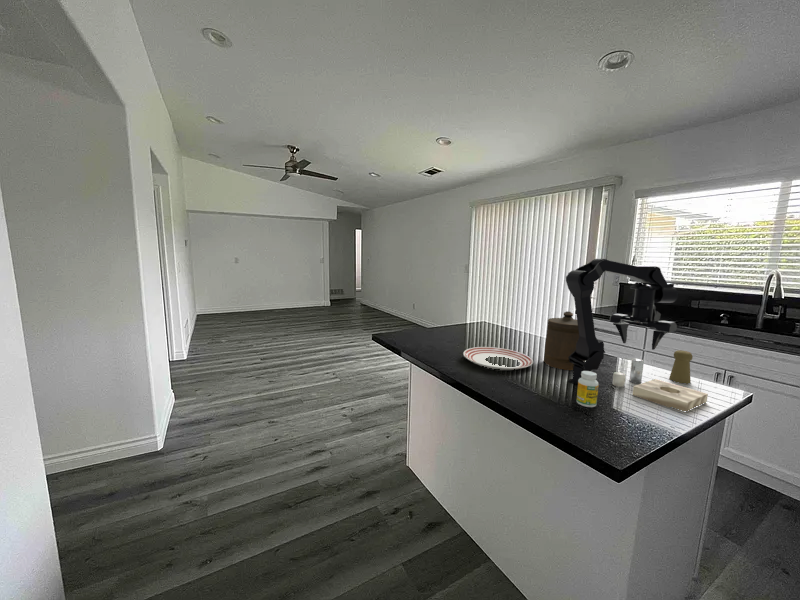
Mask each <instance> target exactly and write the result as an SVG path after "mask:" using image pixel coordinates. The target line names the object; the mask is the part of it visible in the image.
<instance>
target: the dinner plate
mask: <svg viewBox="0 0 800 600" xmlns="http://www.w3.org/2000/svg"><path fill="white" fill-rule="evenodd" d="M462 354H463V357H464V358H465V359H467V360H468V361H470V362H471V363H473V364H475V365H478V366H480V367H482V366H484V367H483V368H485V367H487V368H486V369H489V368H492V369H491V370H494V369H500V370H499V371H513V370H514V369H515V370H519V369H525V368H528V367H530V366H532V365H533V364H534V360H533V358H532V357H530V356H528V355H527V354H525V353H523V352H520V351H517V350H512V349H509V348H502V347H495V346H476V347H470V348H467V349H465V350H464V351H463V353H462ZM489 356H490V357H496V356H497V357H505V358H509V359H513V360H518V362H520V363H521V364H520V365H519V366H516V367H507V366H506V367H505V365H502V366H499V365H498V364H495V365H494V364H493V365H492V363H489V362H488V361H486V360H485V359H486V358H488V357H489ZM515 370H514V371H515Z"/></svg>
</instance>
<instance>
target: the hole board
mask: <svg viewBox="0 0 800 600" xmlns="http://www.w3.org/2000/svg"><path fill="white" fill-rule="evenodd" d="M632 396H634V397H638V398H640V399H643V400H646V401H648V402H649V401H650V402H653V403H655V404H659V405H661V406H664V407H667V408H670V407H673V408H676V409H679V410H682V411H688V410H690V409H692V408H694V407H696V406H699V405H701V404H703V403H706V402H707V401H708V396H709V393H706V392H704V391H703V392H702V391H699V390H696V389H693V388H689V387H685V386H682V385H677V384H674V383H671V382H667V381H664V380H660V379H658V378H655V379H651V380H649V381H648V380H647V381H645V382H641V383H640V384H638V383H637V384H635V385H633V388H632ZM706 404H707V403H706ZM699 407H700V406H699ZM673 408H672V409H673ZM676 409H675V410H676ZM679 410H678V411H679ZM682 411H681V412H682Z"/></svg>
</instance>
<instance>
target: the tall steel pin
mask: <svg viewBox="0 0 800 600" xmlns="http://www.w3.org/2000/svg"><path fill="white" fill-rule="evenodd" d="M630 362H631V363H630V371H629V372H630V373H629V382H630V383H633V384H637V385H638V384H642V379H643V371H644V362H645V361H644V360H643V359H640V358H631V361H630Z"/></svg>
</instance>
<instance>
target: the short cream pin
mask: <svg viewBox="0 0 800 600" xmlns="http://www.w3.org/2000/svg"><path fill="white" fill-rule="evenodd" d="M625 383H626V374H625V373H623V372H619V371H617V372H616V371H615V372H613V375H612V384H611V385H613V386H615V387H617V388H618V387H619V388H624V387H625V385H626V384H625Z"/></svg>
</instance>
